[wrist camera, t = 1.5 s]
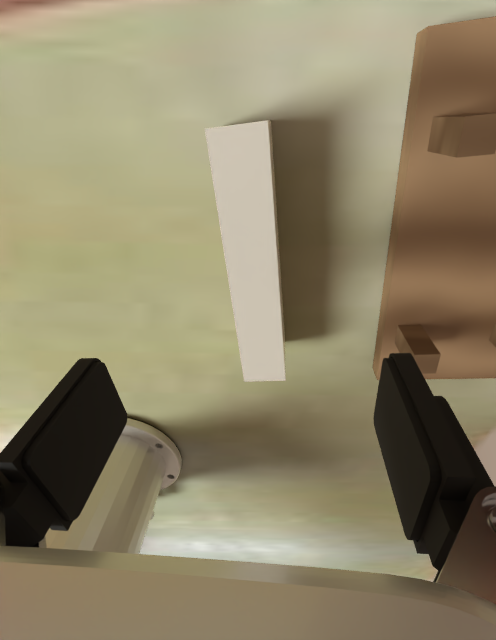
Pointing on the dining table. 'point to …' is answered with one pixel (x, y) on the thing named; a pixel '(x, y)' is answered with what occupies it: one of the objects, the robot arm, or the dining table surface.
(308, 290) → the dining table surface
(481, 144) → the plank with four pegs
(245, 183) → the clay strip
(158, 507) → the dining table surface
